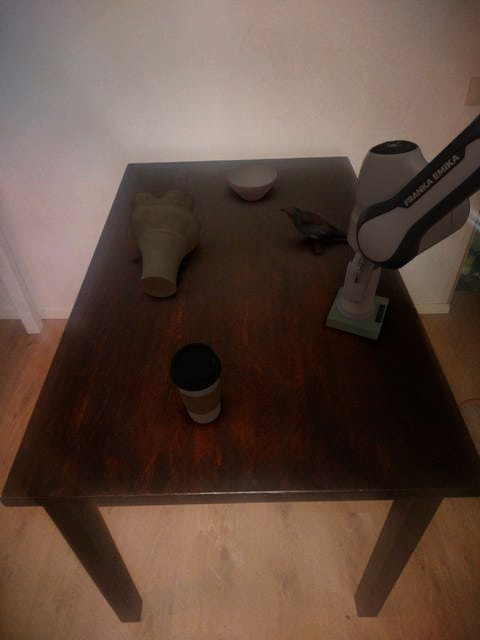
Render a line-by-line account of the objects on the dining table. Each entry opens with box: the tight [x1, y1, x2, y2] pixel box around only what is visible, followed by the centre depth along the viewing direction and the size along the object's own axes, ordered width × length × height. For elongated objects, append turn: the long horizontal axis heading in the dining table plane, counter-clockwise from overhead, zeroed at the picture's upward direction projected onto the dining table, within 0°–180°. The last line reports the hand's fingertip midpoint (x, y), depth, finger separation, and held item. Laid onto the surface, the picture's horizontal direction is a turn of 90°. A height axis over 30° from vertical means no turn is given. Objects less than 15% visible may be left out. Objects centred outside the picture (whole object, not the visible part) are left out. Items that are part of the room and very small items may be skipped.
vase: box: [129, 189, 203, 298], centre depth 93 cm, size 22×22×28 cm
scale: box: [325, 286, 390, 341], centre depth 84 cm, size 11×11×3 cm
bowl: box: [226, 162, 278, 202], centre depth 123 cm, size 16×16×7 cm
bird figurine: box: [279, 205, 348, 254], centre depth 101 cm, size 13×10×20 cm
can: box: [341, 254, 382, 315], centre depth 79 cm, size 6×6×12 cm
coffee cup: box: [169, 342, 223, 424], centre depth 66 cm, size 8×8×15 cm
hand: (359, 289), depth 80 cm, fingers closed on can, 6 cm apart
